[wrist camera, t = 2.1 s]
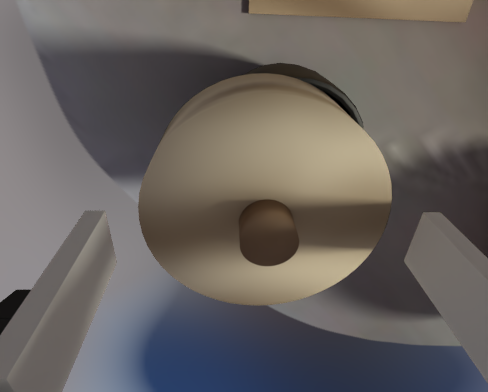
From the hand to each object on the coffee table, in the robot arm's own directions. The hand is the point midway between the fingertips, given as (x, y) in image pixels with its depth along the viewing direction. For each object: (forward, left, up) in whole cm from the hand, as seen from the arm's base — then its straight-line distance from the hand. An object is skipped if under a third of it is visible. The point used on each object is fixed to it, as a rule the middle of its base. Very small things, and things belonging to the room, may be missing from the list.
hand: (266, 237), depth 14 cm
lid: (0, 0, -5) cm, 5 cm away
